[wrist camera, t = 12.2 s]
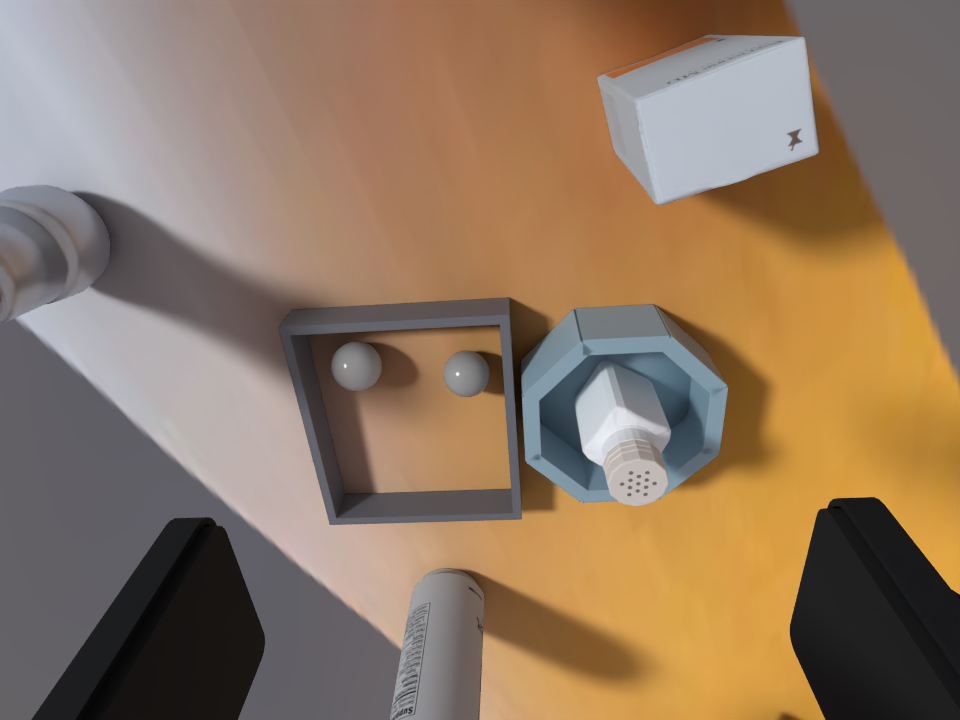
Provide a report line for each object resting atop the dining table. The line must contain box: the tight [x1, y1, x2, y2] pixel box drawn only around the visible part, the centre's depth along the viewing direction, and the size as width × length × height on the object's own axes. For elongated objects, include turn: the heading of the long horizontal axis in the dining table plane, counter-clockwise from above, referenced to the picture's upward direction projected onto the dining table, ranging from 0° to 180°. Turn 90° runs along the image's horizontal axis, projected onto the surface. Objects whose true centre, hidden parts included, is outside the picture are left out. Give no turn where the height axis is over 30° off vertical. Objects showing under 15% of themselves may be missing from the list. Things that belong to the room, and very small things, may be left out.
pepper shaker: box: [574, 360, 671, 506], centre depth 36 cm, size 4×4×10 cm
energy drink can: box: [390, 569, 485, 720], centre depth 44 cm, size 6×6×15 cm
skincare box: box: [598, 35, 819, 205], centre depth 27 cm, size 6×4×12 cm
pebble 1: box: [331, 341, 382, 391], centre depth 39 cm, size 3×3×3 cm
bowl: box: [521, 304, 728, 503], centre depth 39 cm, size 12×12×4 cm
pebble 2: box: [443, 351, 490, 397], centre depth 39 cm, size 3×3×3 cm
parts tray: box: [278, 298, 522, 525], centre depth 41 cm, size 16×14×3 cm
